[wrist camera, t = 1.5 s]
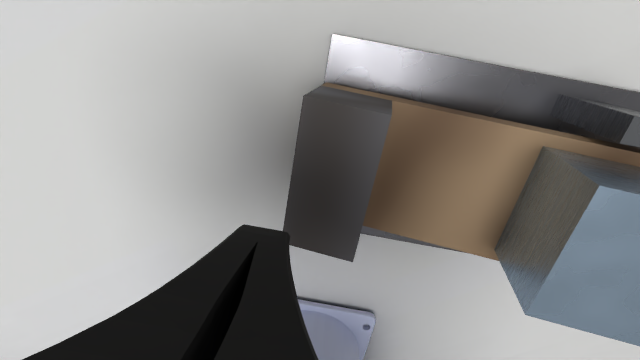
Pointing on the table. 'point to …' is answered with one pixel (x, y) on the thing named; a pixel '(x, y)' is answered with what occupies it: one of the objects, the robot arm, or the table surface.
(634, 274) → the block
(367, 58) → the stand
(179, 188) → the table surface
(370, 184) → the beam
